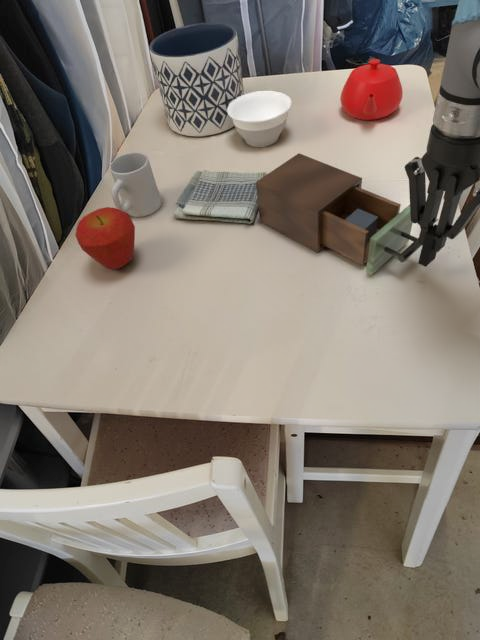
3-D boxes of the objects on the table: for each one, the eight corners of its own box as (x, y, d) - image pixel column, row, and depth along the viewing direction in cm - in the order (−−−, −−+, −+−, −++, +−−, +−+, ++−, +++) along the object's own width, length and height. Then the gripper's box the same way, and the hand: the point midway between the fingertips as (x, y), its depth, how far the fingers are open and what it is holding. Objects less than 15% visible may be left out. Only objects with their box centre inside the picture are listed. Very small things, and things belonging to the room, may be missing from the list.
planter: (255, 126, 119) (246, 43, 104) (174, 146, 118) (153, 64, 103) (236, 93, 134) (226, 16, 118) (164, 110, 133) (144, 34, 117)
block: (375, 235, 83) (378, 216, 79) (362, 248, 81) (364, 229, 78) (356, 227, 85) (357, 208, 82) (342, 239, 83) (343, 220, 80)
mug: (139, 192, 106) (124, 149, 98) (168, 198, 103) (155, 154, 94) (109, 223, 99) (91, 180, 91) (140, 229, 96) (124, 186, 88)
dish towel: (270, 177, 103) (269, 165, 100) (253, 226, 92) (252, 214, 90) (196, 175, 107) (193, 163, 105) (171, 222, 97) (167, 209, 94)
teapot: (343, 91, 126) (345, 44, 117) (400, 89, 122) (407, 40, 113) (335, 136, 111) (337, 86, 102) (400, 136, 107) (408, 83, 98)
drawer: (429, 250, 80) (438, 215, 74) (392, 285, 76) (399, 251, 70) (345, 212, 90) (347, 178, 84) (308, 241, 86) (308, 208, 80)
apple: (132, 285, 85) (110, 236, 76) (84, 279, 88) (57, 231, 79) (153, 247, 92) (136, 198, 83) (108, 243, 95) (86, 195, 86)
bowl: (220, 149, 114) (215, 117, 107) (248, 120, 122) (245, 87, 116) (277, 158, 108) (274, 124, 101) (302, 126, 116) (301, 93, 110)
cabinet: (358, 219, 89) (362, 178, 82) (317, 253, 85) (318, 211, 77) (299, 193, 98) (298, 152, 90) (259, 221, 93) (255, 182, 86)
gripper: (401, 124, 59) (380, 256, 77) (498, 154, 52) (450, 291, 70) (432, 101, 61) (405, 233, 79) (529, 126, 54) (475, 265, 73)
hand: (426, 260), depth 75 cm, fingers closed
